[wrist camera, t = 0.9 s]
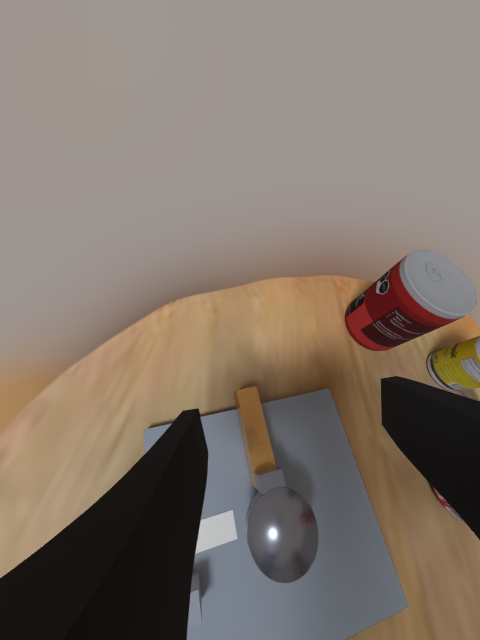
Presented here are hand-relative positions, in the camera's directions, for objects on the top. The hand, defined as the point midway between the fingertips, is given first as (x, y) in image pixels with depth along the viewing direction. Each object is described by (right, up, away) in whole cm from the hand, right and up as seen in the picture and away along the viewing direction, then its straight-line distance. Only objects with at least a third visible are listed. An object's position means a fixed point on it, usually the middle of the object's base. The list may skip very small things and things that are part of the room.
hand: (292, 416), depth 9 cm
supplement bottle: (+26, -3, +22) cm, 34 cm away
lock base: (0, -14, +13) cm, 19 cm away
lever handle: (0, -10, +13) cm, 16 cm away
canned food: (+16, +3, +24) cm, 29 cm away
